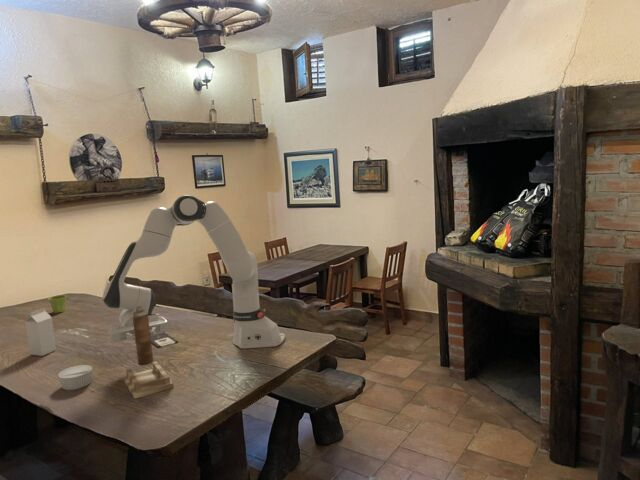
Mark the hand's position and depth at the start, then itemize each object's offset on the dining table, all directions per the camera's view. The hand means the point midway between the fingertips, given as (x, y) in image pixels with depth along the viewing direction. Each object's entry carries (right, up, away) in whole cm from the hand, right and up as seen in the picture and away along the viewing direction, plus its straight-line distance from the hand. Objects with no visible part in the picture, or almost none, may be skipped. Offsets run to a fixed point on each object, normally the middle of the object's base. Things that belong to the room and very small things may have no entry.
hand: (143, 335), depth 163 cm
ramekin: (-26, -19, +6) cm, 33 cm away
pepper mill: (0, -10, +2) cm, 10 cm away
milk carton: (-59, -16, +42) cm, 74 cm away
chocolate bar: (-10, -13, +49) cm, 51 cm away
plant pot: (-90, -9, +109) cm, 141 cm away
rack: (+1, -18, +3) cm, 18 cm away
